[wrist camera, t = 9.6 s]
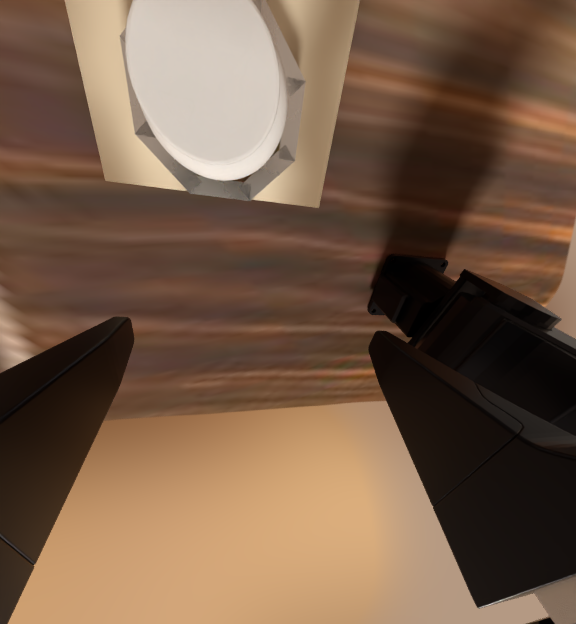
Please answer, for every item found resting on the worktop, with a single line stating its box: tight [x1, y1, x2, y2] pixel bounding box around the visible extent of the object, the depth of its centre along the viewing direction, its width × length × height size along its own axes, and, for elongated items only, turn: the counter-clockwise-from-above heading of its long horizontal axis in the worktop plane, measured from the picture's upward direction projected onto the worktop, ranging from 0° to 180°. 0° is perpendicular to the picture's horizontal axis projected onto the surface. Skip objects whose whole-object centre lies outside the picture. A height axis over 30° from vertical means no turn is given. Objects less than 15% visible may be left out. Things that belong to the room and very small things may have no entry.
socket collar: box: [120, 0, 306, 201], centre depth 14 cm, size 9×9×2 cm
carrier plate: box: [65, 0, 360, 208], centre depth 13 cm, size 14×17×1 cm
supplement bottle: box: [125, 0, 287, 181], centre depth 11 cm, size 5×5×10 cm
